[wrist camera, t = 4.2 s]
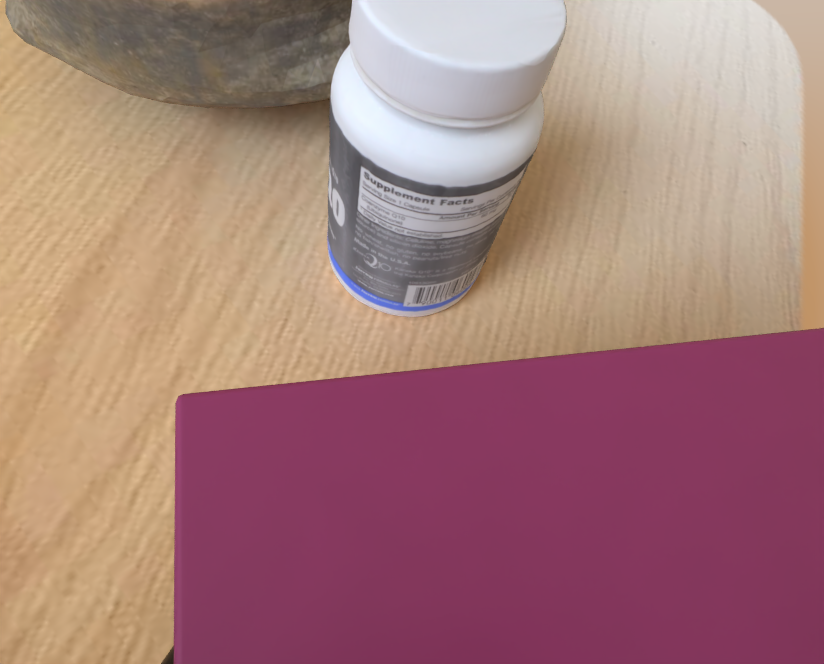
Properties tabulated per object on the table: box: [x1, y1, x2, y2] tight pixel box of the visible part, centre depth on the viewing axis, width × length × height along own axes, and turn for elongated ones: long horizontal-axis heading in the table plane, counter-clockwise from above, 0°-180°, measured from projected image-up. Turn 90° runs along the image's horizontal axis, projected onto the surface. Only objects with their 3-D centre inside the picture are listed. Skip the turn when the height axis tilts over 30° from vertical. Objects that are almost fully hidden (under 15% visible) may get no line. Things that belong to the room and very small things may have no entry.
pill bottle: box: [327, 0, 567, 317], centre depth 14 cm, size 5×5×8 cm
